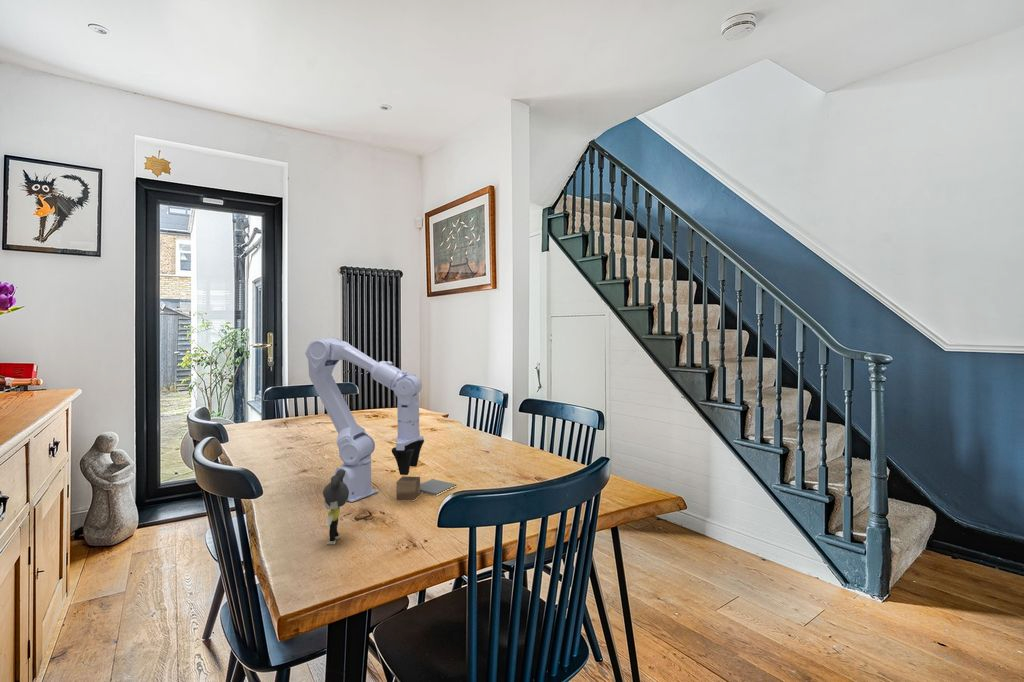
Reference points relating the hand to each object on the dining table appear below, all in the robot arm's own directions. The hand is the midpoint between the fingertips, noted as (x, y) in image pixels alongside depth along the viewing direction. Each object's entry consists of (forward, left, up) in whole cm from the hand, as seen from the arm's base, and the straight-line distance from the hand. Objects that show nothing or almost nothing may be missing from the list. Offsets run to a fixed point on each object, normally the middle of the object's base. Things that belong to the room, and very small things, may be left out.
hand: (408, 470), depth 135 cm
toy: (-29, -5, -8) cm, 30 cm away
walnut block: (0, 0, -8) cm, 8 cm away
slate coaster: (+9, -1, -7) cm, 12 cm away
